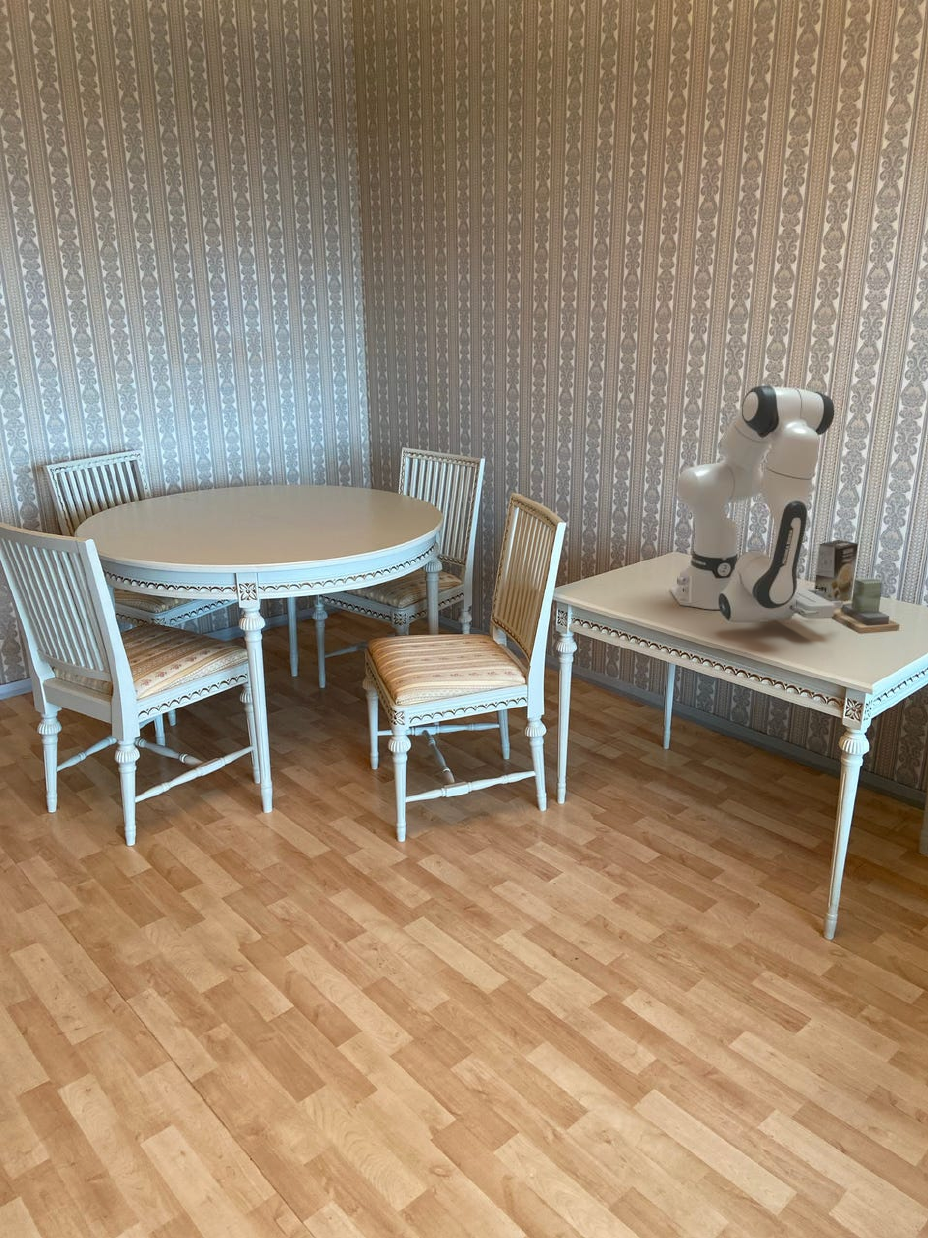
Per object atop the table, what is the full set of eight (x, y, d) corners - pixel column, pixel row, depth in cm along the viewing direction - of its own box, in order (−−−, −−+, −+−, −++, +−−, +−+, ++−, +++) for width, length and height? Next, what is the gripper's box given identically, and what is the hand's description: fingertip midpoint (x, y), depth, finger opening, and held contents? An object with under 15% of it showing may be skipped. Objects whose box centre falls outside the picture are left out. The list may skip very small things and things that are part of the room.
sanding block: (840, 611, 259) (844, 575, 256) (860, 609, 260) (865, 573, 257) (867, 625, 248) (871, 587, 245) (888, 623, 249) (893, 586, 246)
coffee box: (832, 604, 270) (838, 548, 265) (812, 599, 275) (818, 543, 270) (852, 598, 275) (858, 543, 270) (831, 593, 280) (838, 538, 275)
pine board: (814, 608, 267) (815, 603, 266) (851, 606, 269) (852, 600, 268) (859, 633, 247) (860, 627, 246) (898, 629, 249) (899, 624, 249)
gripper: (804, 602, 237) (855, 598, 240) (762, 579, 256) (811, 576, 259) (801, 626, 239) (852, 622, 242) (760, 602, 258) (808, 599, 261)
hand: (830, 598), depth 250 cm, fingers open, 8 cm apart
